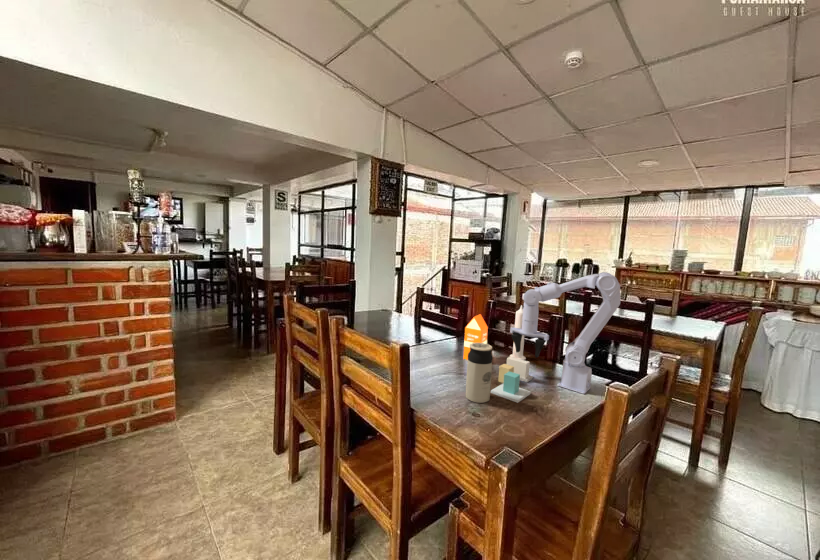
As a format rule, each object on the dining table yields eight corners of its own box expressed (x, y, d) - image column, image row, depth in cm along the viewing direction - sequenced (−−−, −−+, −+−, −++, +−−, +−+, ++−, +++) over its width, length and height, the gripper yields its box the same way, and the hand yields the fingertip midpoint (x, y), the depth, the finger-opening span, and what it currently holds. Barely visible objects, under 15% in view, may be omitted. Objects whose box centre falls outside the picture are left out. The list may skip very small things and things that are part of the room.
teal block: (518, 391, 114) (520, 374, 114) (514, 394, 111) (515, 377, 110) (507, 387, 117) (509, 371, 116) (503, 390, 114) (504, 374, 113)
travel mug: (461, 394, 112) (464, 343, 110) (480, 391, 115) (484, 341, 113) (473, 405, 104) (476, 350, 102) (494, 401, 107) (498, 348, 105)
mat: (530, 393, 114) (530, 391, 114) (517, 402, 107) (517, 400, 107) (504, 384, 121) (504, 382, 121) (490, 392, 114) (490, 390, 114)
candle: (515, 361, 147) (519, 306, 144) (506, 355, 153) (510, 303, 151) (528, 360, 149) (533, 306, 146) (519, 355, 155) (523, 303, 153)
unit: (532, 378, 127) (534, 361, 127) (527, 382, 124) (528, 364, 123) (508, 371, 134) (510, 354, 134) (502, 374, 131) (504, 357, 130)
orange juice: (486, 357, 150) (488, 315, 148) (479, 363, 143) (482, 318, 140) (470, 354, 154) (472, 312, 152) (462, 359, 147) (465, 315, 145)
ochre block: (513, 381, 124) (514, 366, 123) (508, 384, 121) (509, 369, 120) (503, 378, 127) (504, 363, 126) (498, 381, 124) (499, 366, 123)
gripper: (552, 322, 124) (549, 356, 126) (516, 315, 134) (514, 347, 136) (546, 325, 119) (543, 360, 121) (508, 318, 129) (506, 351, 130)
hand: (527, 354), depth 128 cm, fingers open, 7 cm apart
